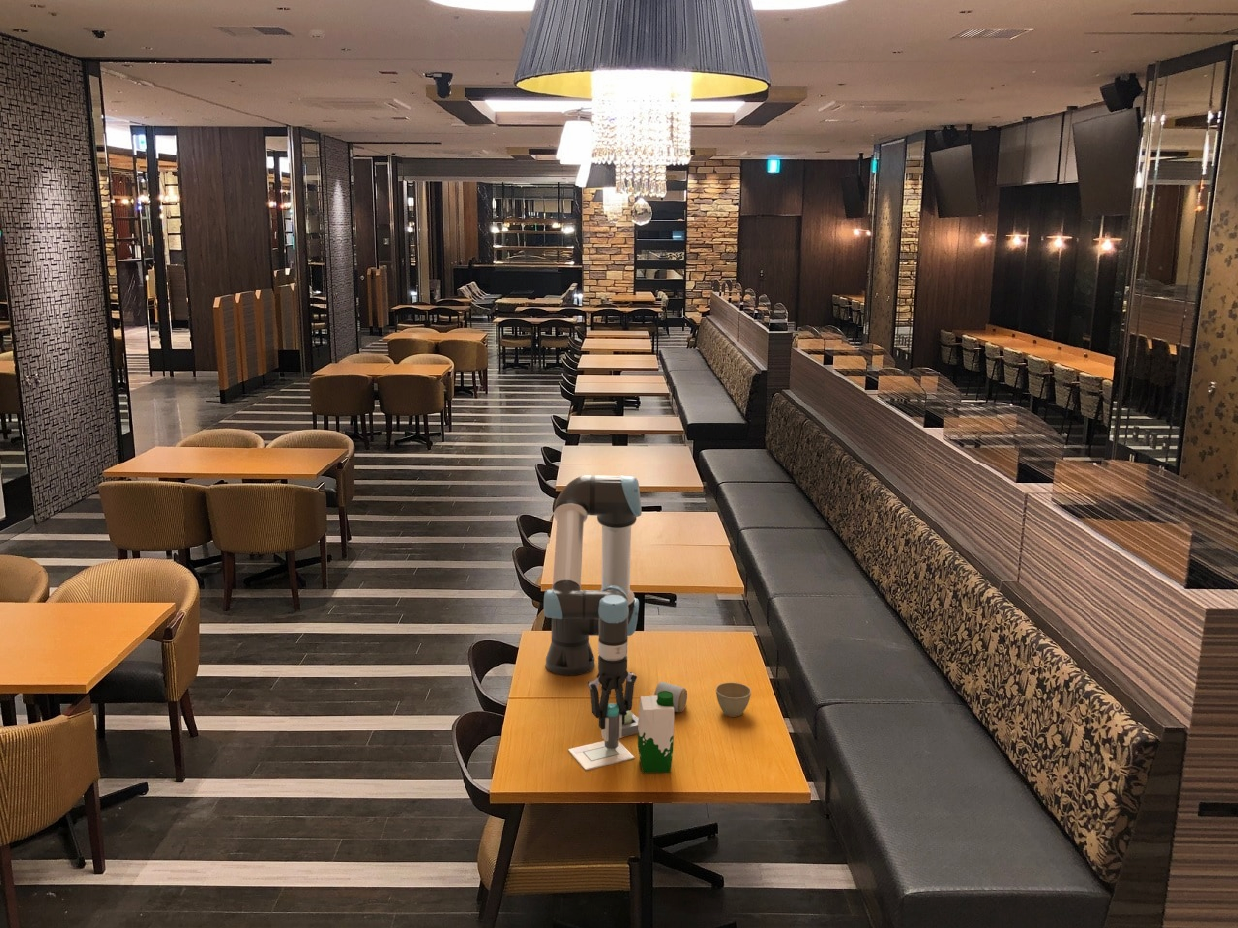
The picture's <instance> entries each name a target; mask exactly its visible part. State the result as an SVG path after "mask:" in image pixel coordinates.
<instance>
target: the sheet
mask: <svg viewBox="0 0 1238 928" xmlns="http://www.w3.org/2000/svg"><path fill="white" fill-rule="evenodd" d="M567 751H568V752H569V754H570V755H571V756H572V757H573V758H574V759H575V760H576V762H578V763H577V764H579V765H580V766H581V767H582V768H583V769H584V770H585V771H589V770H590V771H591V770H594V769H598V768H601V767H607V766H610V765H613V764H619V763H623V762H626V761H630V760H634V759H635V756H634V755H633V754H632V753H631V752H630V751H629V750H628V749H627V748H626V747H625V746H624V745H623V744H622V743H621V742H620V741H619V740H618V747H617V748H616V749H615V750H608V749H607V748H606V747H605V740H602V741H597V742H594V743H589V744H585V745H581V746H576V747H572V748H569V749H567Z"/></svg>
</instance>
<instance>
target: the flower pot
mask: <svg viewBox="0 0 1238 928" xmlns="http://www.w3.org/2000/svg"><path fill="white" fill-rule="evenodd" d="M715 694H716V700H717V702H718V705H719V708H720V709H721V711H722V713H723V714H724V715H725V716H726V717H731V718H736V717H740V716H741V715H742V714H743V713H744V711H745V710H746V708H747V707H748V705H749V702H750V700H751V695H752V689H751V688H750V687H749V686H748V685H746V684H744V683H743V684H742V683H739V682H723V683H721V684H718V685H717V686H716V687H715Z"/></svg>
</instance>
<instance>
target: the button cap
mask: <svg viewBox="0 0 1238 928" xmlns="http://www.w3.org/2000/svg"><path fill="white" fill-rule="evenodd" d="M626 712H627V714H626V715H625V721H624V724H623V725H627V724H631V723H632V713H633V712H632V711H631V710H630V711H626ZM623 725H622V726H623Z"/></svg>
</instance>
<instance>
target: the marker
mask: <svg viewBox="0 0 1238 928" xmlns="http://www.w3.org/2000/svg"><path fill="white" fill-rule="evenodd" d="M606 717H607V718H609V739H608V741H605V740H604V741H605V747H606V748H607V749H608V750H615V749H616V748H617V747H618V741H619V738H618V726H619V705H617V703H613V702H610V703H608V709H607V715H606Z"/></svg>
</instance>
